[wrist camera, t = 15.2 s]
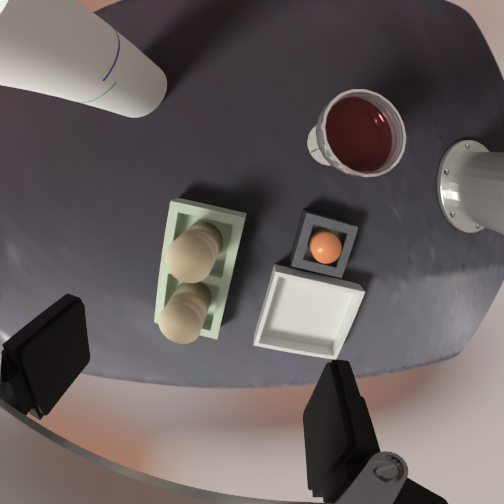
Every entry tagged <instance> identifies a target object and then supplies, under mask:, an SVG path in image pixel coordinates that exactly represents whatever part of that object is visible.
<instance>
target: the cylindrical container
mask: <svg viewBox="0 0 504 504" xmlns="http://www.w3.org/2000/svg"><path fill="white" fill-rule="evenodd" d="M0 85H4V86H9V87H15V88H20V89H25V90H30V91H34V92H39V93H43V94H48V95H52V96H56V97H60V98H64V99H68V100H72V101H76V102H79V103H83V104H87V105H90V106H94V107H97V108H101V109H104V110H108V111H111V112H114V113H117V114H121V115H124V116H127V117H132V118H136V117H142V116H145V115H147V114H149V113H151V112H152V111H153V110H155V109H156V108H157V107H158V106H159V104H160V103H161V102H162V100H163V98H164V96H165V94H166V90H167V79H166V76H165V74H164V72H163V71H162V70H161V69H160V68H159V67H158V66H157V65H156V64H155V63H154V62H152V61H151V60H150V59H149V58H148V57H147V56H146V55H144V54H143V53H142V52H141V51H140V50H139V49H137V48H136V47H135V46H134V45H133V44H132V43H130V42H129V41H128V40H127V39H126V38H124V37H123V36H122V35H121V34H119V33H118V32H117V31H116V30H115V29H113V28H112V27H111V26H110V25H108V24H107V23H106V22H105V21H103V20H102V19H101V18H99V17H98V16H97V15H96V14H94V13H93V12H92V11H90V10H89V9H88V8H86V7H85V6H84V5H82V4H81V3H80V2H78V1H77V0H0Z"/></svg>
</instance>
